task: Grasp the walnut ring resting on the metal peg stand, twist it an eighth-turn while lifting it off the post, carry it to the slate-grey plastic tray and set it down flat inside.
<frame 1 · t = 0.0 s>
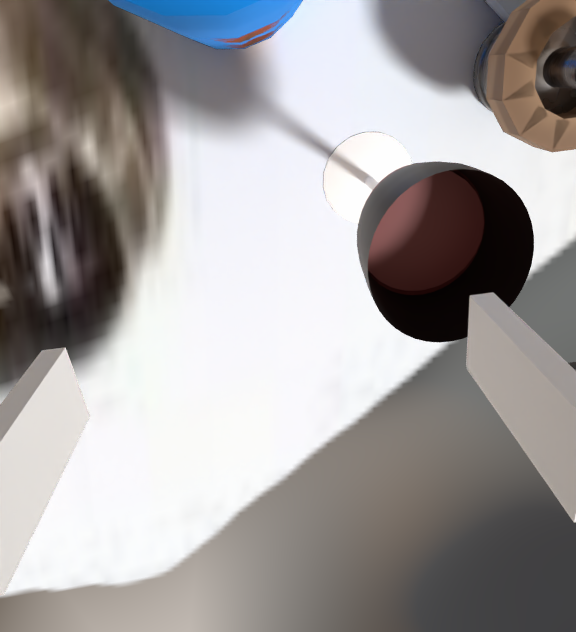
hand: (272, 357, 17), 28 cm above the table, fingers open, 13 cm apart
ring: (560, 67, 33), point 6 cm above the table, touching metal peg stand
metal peg stand: (518, 67, 39), on the table
wineglass: (367, 179, 42), on the table
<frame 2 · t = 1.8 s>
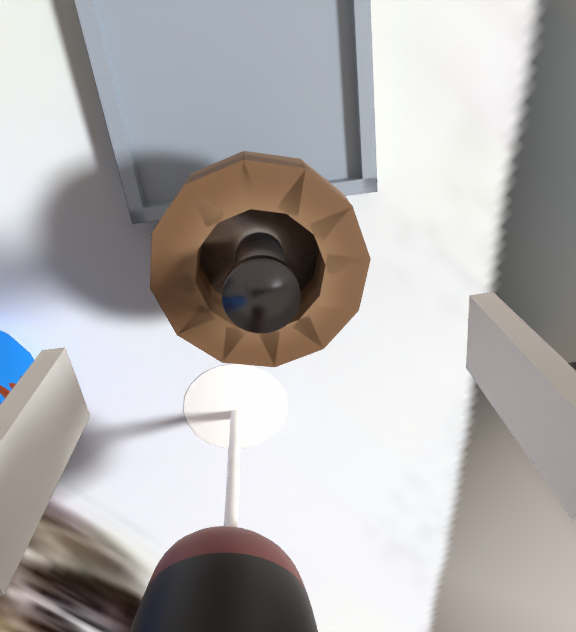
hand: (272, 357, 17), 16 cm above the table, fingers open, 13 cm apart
ring: (259, 255, 25), point 6 cm above the table, touching metal peg stand
metal peg stand: (258, 222, 31), on the table
tray: (226, 5, 26), on the table
wineglass: (236, 406, 37), on the table
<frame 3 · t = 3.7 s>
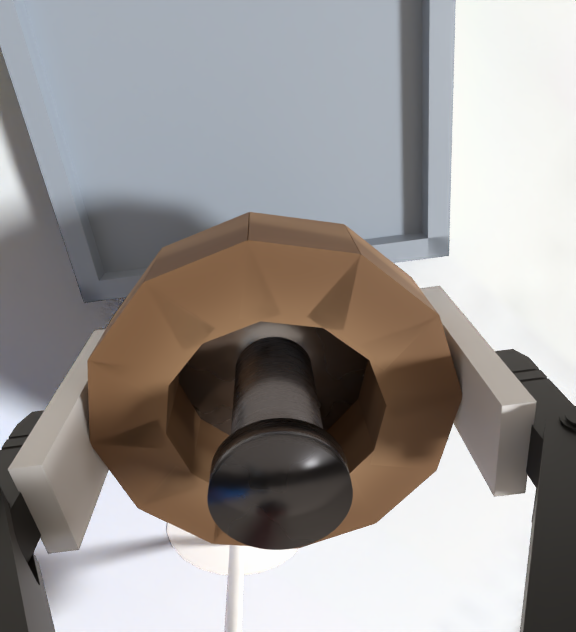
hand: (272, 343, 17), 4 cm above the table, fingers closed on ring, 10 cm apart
ring: (273, 370, 16), point 6 cm above the table, touching gripper, metal peg stand
metal peg stand: (269, 293, 21), on the table
wineglass: (237, 525, 27), on the table
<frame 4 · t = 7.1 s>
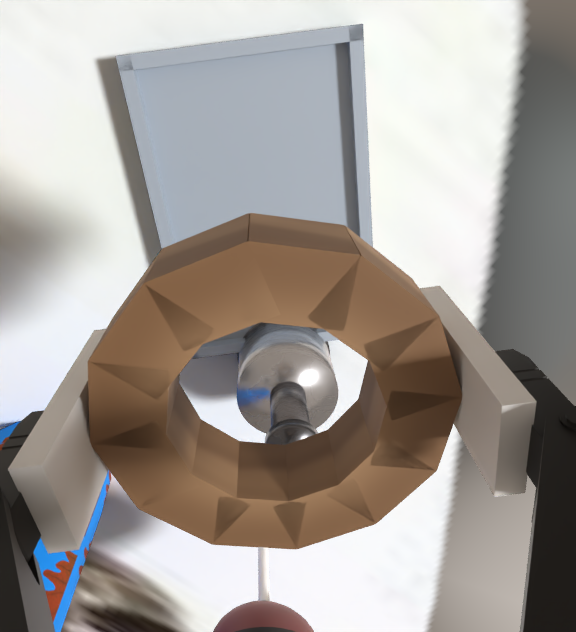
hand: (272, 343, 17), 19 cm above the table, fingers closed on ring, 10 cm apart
ring: (273, 370, 16), point 20 cm above the table, touching gripper
thermos: (49, 467, 43), on the table
metal peg stand: (283, 351, 39), on the table
tray: (263, 208, 34), on the table
wineglass: (262, 483, 45), on the table
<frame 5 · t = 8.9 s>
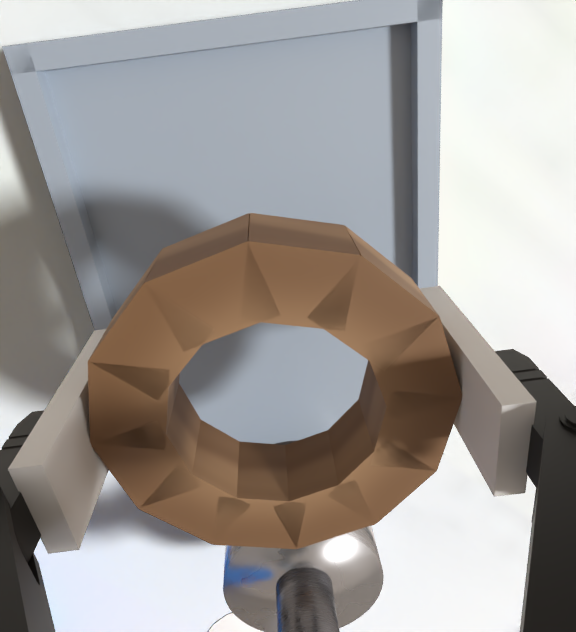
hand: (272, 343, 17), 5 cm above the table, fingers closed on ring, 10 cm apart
ring: (273, 370, 16), point 7 cm above the table, touching gripper
metal peg stand: (293, 482, 27), on the table
tray: (264, 287, 22), on the table
when the fingers open (2 cm above the table, at t = 10.5 s): ring drops 3 cm, resting on tray.
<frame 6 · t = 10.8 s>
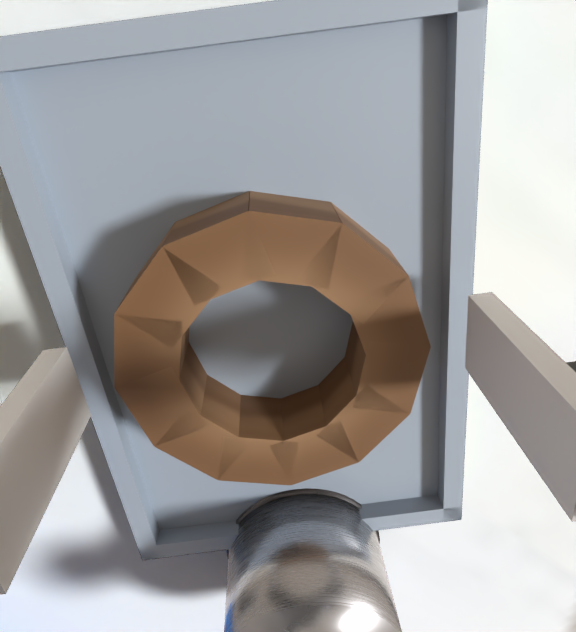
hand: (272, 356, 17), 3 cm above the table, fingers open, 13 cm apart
ring: (270, 330, 18), point 1 cm above the table, touching tray
metal peg stand: (302, 530, 24), on the table
tray: (270, 320, 19), on the table
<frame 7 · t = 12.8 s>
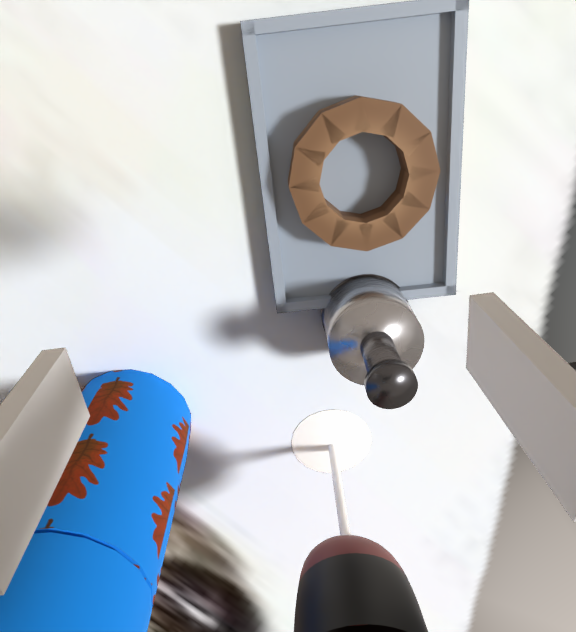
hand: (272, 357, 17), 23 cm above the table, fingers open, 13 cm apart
ring: (358, 172, 36), point 1 cm above the table, touching tray
thermos: (134, 417, 46), on the table
metal peg stand: (363, 310, 42), on the table
tray: (357, 170, 37), on the table
wineglass: (331, 441, 48), on the table
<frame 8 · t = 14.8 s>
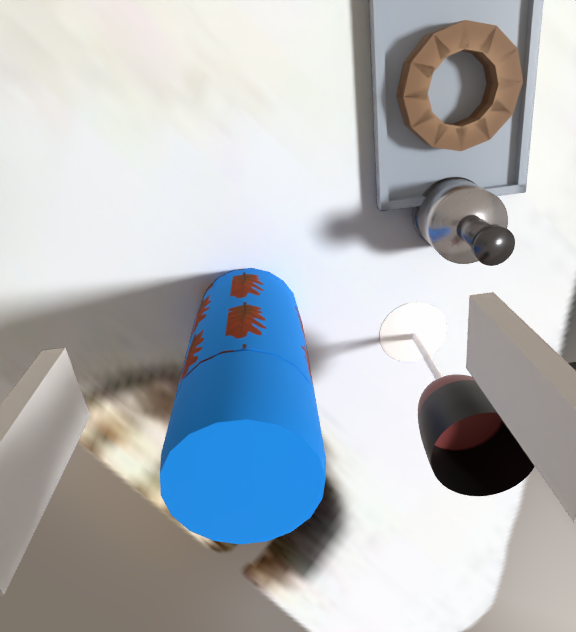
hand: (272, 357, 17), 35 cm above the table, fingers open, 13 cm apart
ring: (453, 88, 45), point 1 cm above the table, touching tray
thermos: (249, 312, 54), on the table
metal peg stand: (447, 210, 50), on the table
tray: (450, 87, 45), on the table
wineglass: (412, 332, 57), on the table
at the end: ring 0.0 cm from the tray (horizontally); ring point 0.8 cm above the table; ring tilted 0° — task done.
